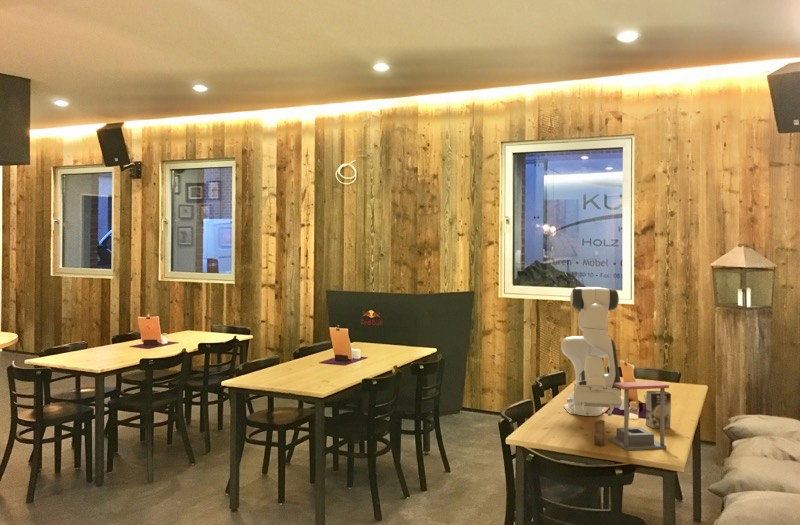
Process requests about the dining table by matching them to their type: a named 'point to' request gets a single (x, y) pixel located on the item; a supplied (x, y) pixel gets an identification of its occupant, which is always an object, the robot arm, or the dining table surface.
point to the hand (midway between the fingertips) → (598, 414)
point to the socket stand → (636, 435)
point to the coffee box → (657, 409)
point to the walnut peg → (599, 432)
